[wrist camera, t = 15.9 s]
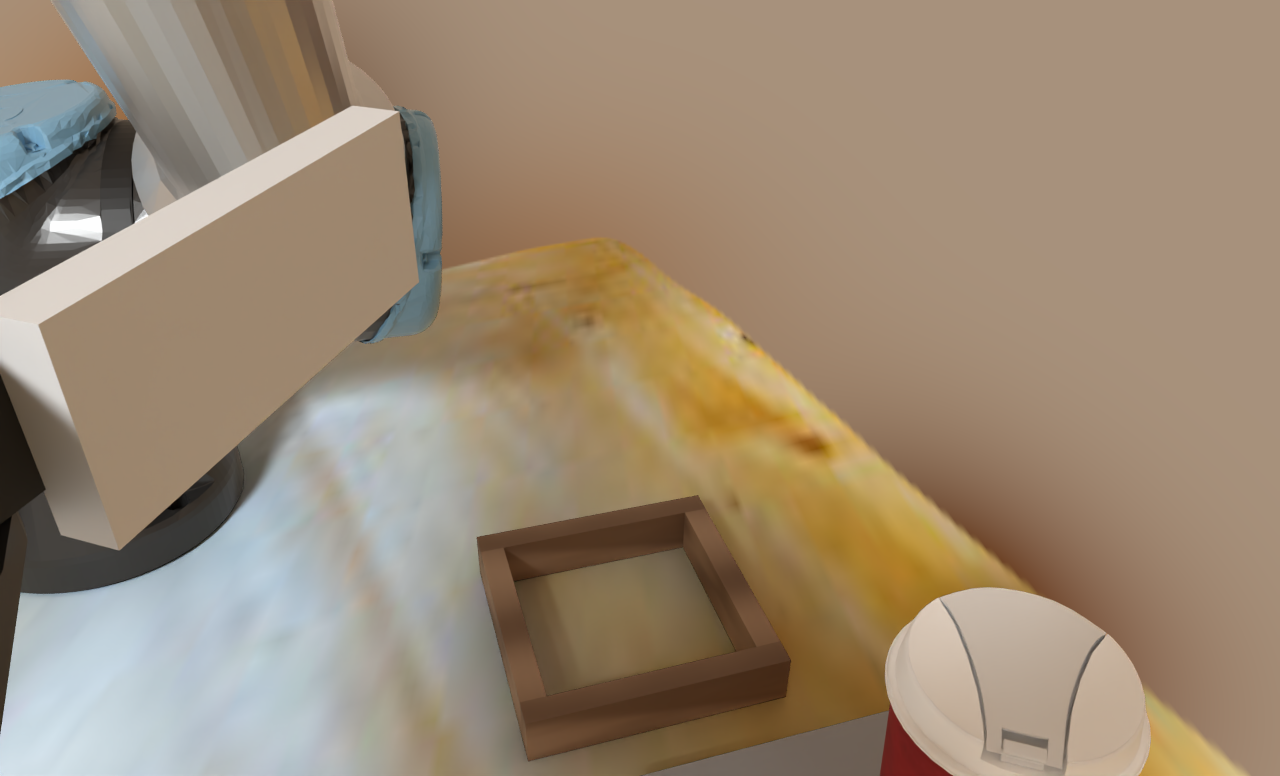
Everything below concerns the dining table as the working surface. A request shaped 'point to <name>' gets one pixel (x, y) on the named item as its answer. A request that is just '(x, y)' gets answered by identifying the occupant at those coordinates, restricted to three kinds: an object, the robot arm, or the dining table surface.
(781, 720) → the dining table surface
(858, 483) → the dining table surface
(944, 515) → the dining table surface
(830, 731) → the slate tile
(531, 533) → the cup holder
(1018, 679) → the paper cup
